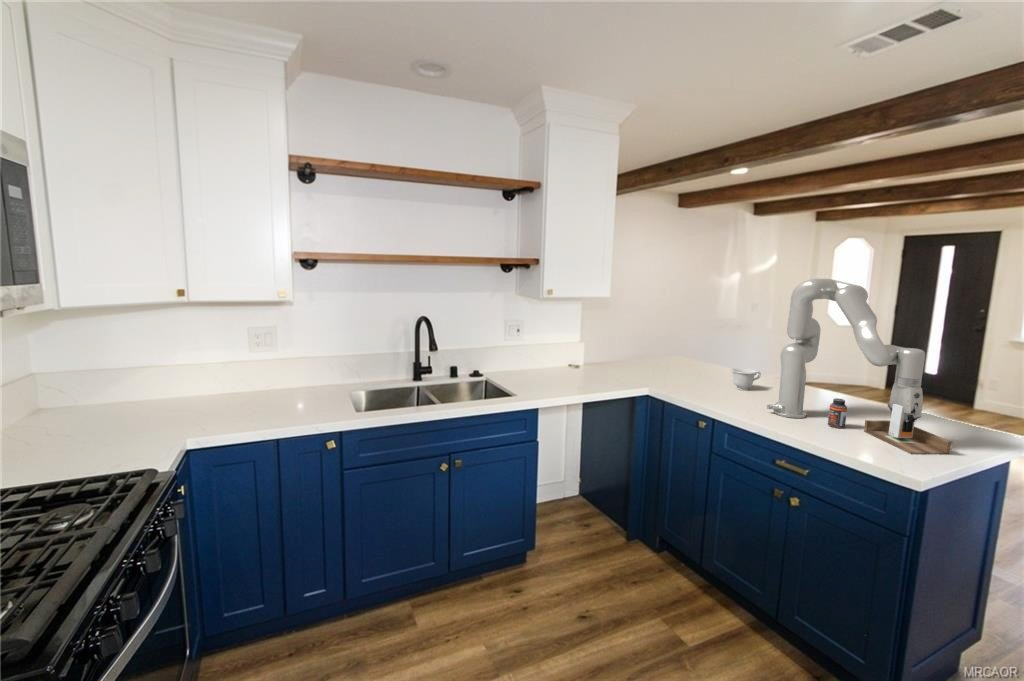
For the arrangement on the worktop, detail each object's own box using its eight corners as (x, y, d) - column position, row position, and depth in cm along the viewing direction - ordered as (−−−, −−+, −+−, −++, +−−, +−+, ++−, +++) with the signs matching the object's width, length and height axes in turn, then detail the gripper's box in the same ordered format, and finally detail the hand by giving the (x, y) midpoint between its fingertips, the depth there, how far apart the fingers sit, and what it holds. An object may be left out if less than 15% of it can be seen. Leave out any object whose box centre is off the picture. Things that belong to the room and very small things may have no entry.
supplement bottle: (824, 425, 197) (826, 398, 196) (833, 423, 200) (836, 396, 198) (838, 429, 192) (841, 402, 190) (848, 427, 194) (851, 400, 193)
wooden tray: (910, 454, 167) (912, 441, 166) (863, 431, 190) (865, 420, 189) (949, 454, 167) (951, 441, 166) (898, 431, 190) (899, 420, 189)
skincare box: (897, 438, 177) (902, 407, 176) (888, 434, 182) (892, 403, 180) (913, 438, 178) (917, 406, 176) (902, 434, 182) (907, 403, 180)
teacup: (765, 392, 249) (766, 373, 247) (736, 391, 249) (737, 373, 248) (753, 386, 261) (755, 368, 259) (726, 386, 261) (727, 368, 259)
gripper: (937, 387, 168) (930, 437, 171) (900, 376, 185) (894, 422, 188) (916, 387, 168) (909, 437, 171) (880, 376, 185) (874, 421, 188)
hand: (901, 428), depth 179 cm, fingers closed on skincare box, 4 cm apart
